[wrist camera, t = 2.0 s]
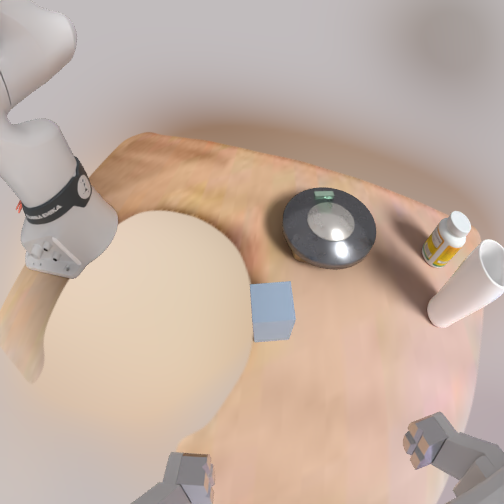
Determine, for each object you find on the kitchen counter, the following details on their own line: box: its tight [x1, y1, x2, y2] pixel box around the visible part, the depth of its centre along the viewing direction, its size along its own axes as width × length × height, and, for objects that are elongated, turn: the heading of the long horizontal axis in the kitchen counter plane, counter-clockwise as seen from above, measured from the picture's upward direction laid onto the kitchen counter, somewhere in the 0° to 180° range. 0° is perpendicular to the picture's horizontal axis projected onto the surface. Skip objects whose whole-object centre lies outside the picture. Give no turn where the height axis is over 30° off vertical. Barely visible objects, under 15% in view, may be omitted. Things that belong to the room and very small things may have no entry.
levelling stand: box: [282, 188, 376, 269], centre depth 41 cm, size 14×14×5 cm
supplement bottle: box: [422, 211, 471, 268], centre depth 36 cm, size 5×5×10 cm
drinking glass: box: [427, 239, 504, 328], centre depth 29 cm, size 7×7×15 cm
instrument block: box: [250, 281, 296, 342], centre depth 33 cm, size 4×4×8 cm
